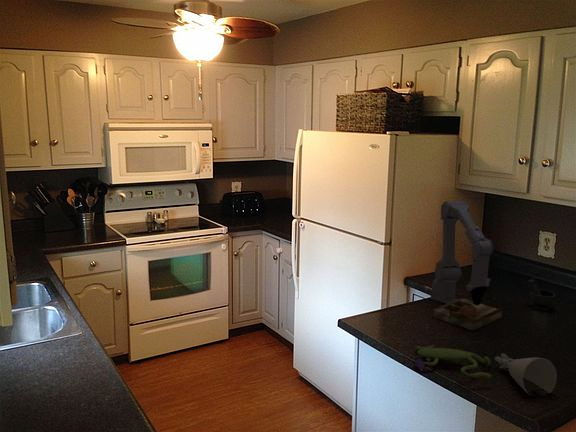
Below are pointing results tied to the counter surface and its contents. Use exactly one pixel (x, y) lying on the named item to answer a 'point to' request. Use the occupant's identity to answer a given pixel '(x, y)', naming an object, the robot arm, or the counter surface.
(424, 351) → the figurine
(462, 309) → the block
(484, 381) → the counter surface
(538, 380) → the rocket engine
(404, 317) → the counter surface
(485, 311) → the trap board
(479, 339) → the counter surface
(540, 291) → the mortar and pestle
